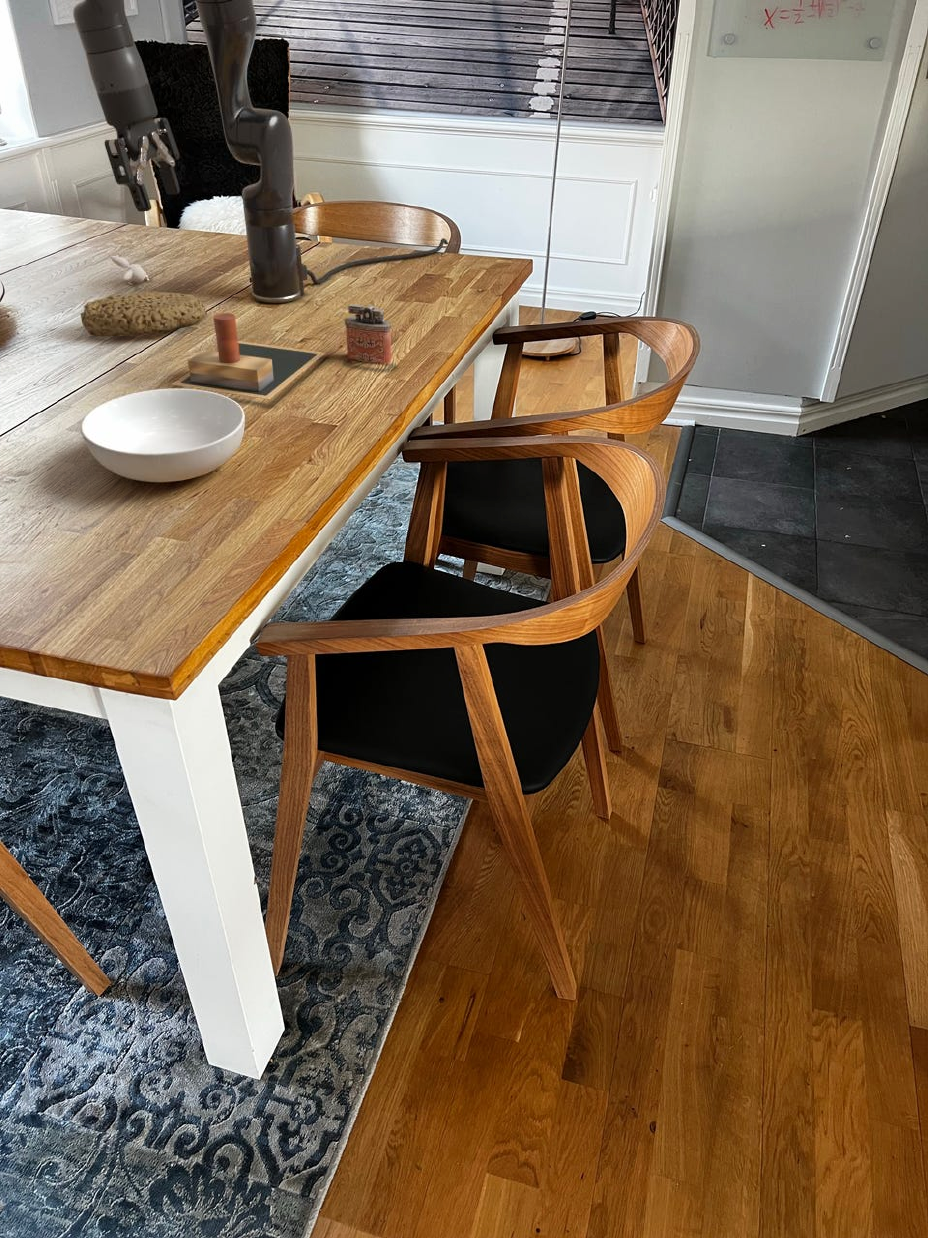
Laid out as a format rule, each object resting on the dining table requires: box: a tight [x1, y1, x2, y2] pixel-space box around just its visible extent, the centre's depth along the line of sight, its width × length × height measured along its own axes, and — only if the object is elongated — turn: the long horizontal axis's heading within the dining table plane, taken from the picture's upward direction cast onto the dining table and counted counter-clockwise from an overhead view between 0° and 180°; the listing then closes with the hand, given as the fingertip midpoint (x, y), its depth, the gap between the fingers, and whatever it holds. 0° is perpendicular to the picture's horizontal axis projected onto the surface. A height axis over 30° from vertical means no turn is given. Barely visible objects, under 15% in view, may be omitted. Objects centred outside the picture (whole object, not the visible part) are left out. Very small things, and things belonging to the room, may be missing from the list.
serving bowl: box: [80, 388, 246, 483], centre depth 127 cm, size 21×21×7 cm
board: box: [171, 340, 326, 400], centre depth 156 cm, size 21×17×1 cm
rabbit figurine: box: [110, 255, 150, 286], centre depth 193 cm, size 6×4×8 cm
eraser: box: [187, 312, 274, 392], centre depth 148 cm, size 12×5×10 cm, turn 73°
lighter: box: [344, 303, 393, 372], centre depth 157 cm, size 8×3×10 cm, turn 71°
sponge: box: [80, 291, 208, 337], centre depth 170 cm, size 13×8×20 cm
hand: (159, 201), depth 147 cm, fingers open, 8 cm apart
